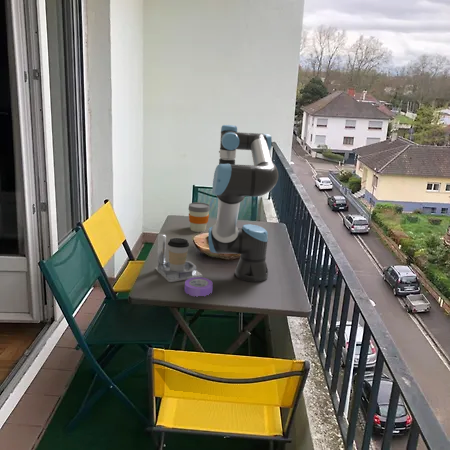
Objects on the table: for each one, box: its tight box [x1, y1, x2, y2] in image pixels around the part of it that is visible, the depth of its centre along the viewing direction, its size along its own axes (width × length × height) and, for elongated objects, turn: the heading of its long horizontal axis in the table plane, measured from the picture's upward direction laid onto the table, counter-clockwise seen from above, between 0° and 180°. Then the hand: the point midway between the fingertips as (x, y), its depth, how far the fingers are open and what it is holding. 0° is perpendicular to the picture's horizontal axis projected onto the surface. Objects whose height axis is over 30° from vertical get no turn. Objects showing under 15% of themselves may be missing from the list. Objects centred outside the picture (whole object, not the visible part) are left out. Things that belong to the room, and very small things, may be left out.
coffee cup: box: [167, 237, 190, 272], centre depth 204 cm, size 9×9×15 cm
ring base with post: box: [155, 233, 203, 283], centre depth 206 cm, size 16×16×17 cm
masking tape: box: [184, 276, 214, 298], centre depth 192 cm, size 12×12×4 cm
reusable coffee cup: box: [188, 201, 211, 233], centre depth 271 cm, size 13×13×15 cm
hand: (224, 202), depth 223 cm, fingers open, 13 cm apart
